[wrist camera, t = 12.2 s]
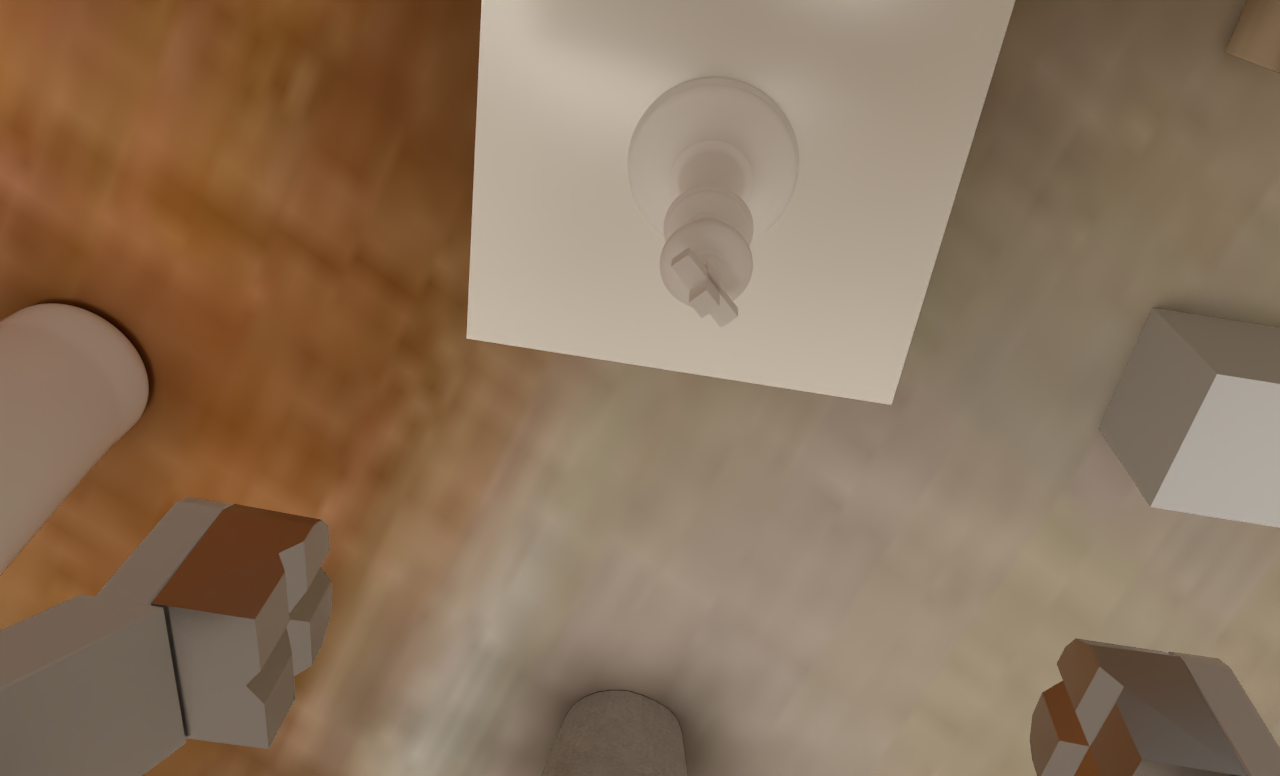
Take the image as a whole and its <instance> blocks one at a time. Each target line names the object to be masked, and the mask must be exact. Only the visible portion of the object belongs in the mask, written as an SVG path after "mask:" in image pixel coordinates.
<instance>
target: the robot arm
mask: <svg viewBox="0 0 1280 776" xmlns="http://www.w3.org/2000/svg"><path fill="white" fill-rule="evenodd" d="M329 551H330V541H329V530H328V525H327V524H326V523H325V522H324V521H323V520H320V519H315V518H309V517H304V516H298V515H293V514H287V513H281V512H276V511H270V510H265V509H259V508H254V507H248V506H243V505H237V504H233V505H231V504H227V503H221V502H216V501H210V500H205V499H199V498H194V497H187V498H185V499H182V500H180V501H178V502H176V503H175V504H174V505H173V506H172V507H171V509H170V510H169V511H168V512H167V513H166V514H165V516H164V517H163V518H162V519H161V520H160V521H159V523H158V524H157V525H156V526H155V527H154V528H153V530H152V531H151V532H150V533H149V534H148V535H147V537H146V538H145V539H144V540H143V541H142V542H141V544H140V545H139V546H138V547H137V548H136V549H135V551H134V552H133V553H132V554H131V555H130V556H129V558H128V559H127V560H126V561H125V562H124V563H123V565H122V566H121V567H120V568H119V569H118V570H117V572H116V573H115V574H114V575H113V576H112V577H111V579H110V580H109V581H108V582H107V583H106V584H105V585H104V587H103V588H102V589H101V590H100V591H99V592H98V594H97V595H96V596H95V597H94V596H87V595H79V596H76V597H74V598H72V599H70V600H67V601H65V602H63V603H61V604H58V605H56V606H54V607H52V608H50V609H47V610H45V611H43V612H41V613H38V614H36V615H34V616H32V617H29V618H27V619H25V620H23V621H21V622H18V623H16V624H14V625H12V626H9V627H7V628H5V629H3V630H1V631H0V776H142V775H143V774H145V773H146V772H148V771H149V770H150V769H152V768H153V767H154V766H156V765H157V764H158V763H160V762H161V761H162V760H164V759H165V758H166V757H168V756H169V755H171V754H172V753H173V752H175V751H176V750H177V749H179V748H180V747H181V746H183V745H184V744H185V743H186V738H188V739H196V740H204V741H211V742H219V743H227V744H234V745H242V746H250V747H257V748H265V749H269V747H270V745H271V743H272V742H273V740H274V738H275V736H276V734H277V732H278V730H279V728H280V726H281V724H282V722H283V720H284V719H285V717H286V715H287V713H288V711H289V709H290V707H291V705H292V703H293V701H294V699H295V687H294V676H295V675H297V674H299V673H300V672H302V671H303V670H305V669H307V668H308V667H310V666H312V664H313V662H314V660H315V658H316V656H317V654H318V652H319V650H320V648H321V646H322V643H323V640H324V637H325V633H326V630H327V626H328V623H329V620H330V613H331V605H332V580H331V579H330V578H329V577H328V575H327V574H326V573H325V572H324V571H323V569H322V568H321V565H322V563H323V561H324V560H325V558H326V556H327V554H328V552H329ZM1057 666H1058V668H1059V671H1060V674H1061V676H1062V679H1063V681H1062V682H1060V683H1058V684H1056V685H1055V686H1053V687H1051V688H1050V689H1048V690H1046V691H1044V692H1043V693H1042V694H1041V697H1040V699H1039V701H1038V703H1037V706H1036V708H1035V710H1034V713H1033V715H1032V724H1031V733H1030V745H1031V754H1032V760H1033V764H1034V767H1035V770H1036V773H1037V776H1280V748H1279V746H1278V744H1277V743H1276V741H1275V740H1274V738H1273V736H1272V735H1271V733H1270V731H1269V730H1268V728H1267V727H1266V725H1265V723H1264V722H1263V720H1262V718H1261V717H1260V715H1259V714H1258V712H1257V710H1256V709H1255V707H1254V705H1253V704H1252V702H1251V701H1250V699H1249V697H1248V696H1247V694H1246V692H1245V691H1244V689H1243V688H1242V686H1241V684H1240V683H1239V681H1238V679H1237V678H1236V676H1235V675H1234V673H1233V671H1232V670H1231V668H1230V667H1229V666H1227V665H1226V664H1225V663H1223V662H1222V661H1221V660H1219V659H1218V658H1211V657H1204V656H1197V655H1189V654H1182V653H1175V652H1169V653H1166V652H1162V651H1156V650H1149V649H1142V648H1136V647H1129V646H1122V645H1116V644H1109V643H1102V642H1096V641H1089V640H1082V639H1075V640H1073V641H1072V642H1071V643H1070V644H1069V645H1067V646H1066V647H1065V649H1064V651H1063V653H1062V655H1061V657H1060V658H1059V660H1058V662H1057Z"/></svg>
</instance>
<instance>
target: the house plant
mask: <svg viewBox="0 0 1280 776" xmlns="http://www.w3.org/2000/svg"><path fill="white" fill-rule="evenodd" d="M541 776H688V773H687V766H686V759H685V752H684V745H683V737H682V730H681V728H680V725H679V723H678V720H677V719H676V717H675V716H674V715H673V714H672V712H671V711H670V710H669V709H668V708H666V707H664V706H663V705H661V704H659V703H658V702H656V701H654V700H651V699H649V698H647V697H645V696H642V695H639V694H636V693H632V692H629V691H614V690H611V691H604V692H598V693H595V694H592V695H590V696H587V697H585V698H582V699H581V700H580V701H578V702H577V703H576V704H574V705H573V706H572V707H571V709H570V710H569V712H568V713H567V714H566V716H565V719H564V721H563V724H562V726H561V729H560V731H559V734H558V736H557V738H556V741H555V743H554V746H553V748H552V751H551V753H550V756H549V758H548V761H547V763H546V766H545V768H544V770H543V773H542V775H541Z"/></svg>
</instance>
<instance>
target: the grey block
mask: <svg viewBox="0 0 1280 776" xmlns="http://www.w3.org/2000/svg"><path fill="white" fill-rule="evenodd" d="M1099 430H1100V431H1101V433H1102V435H1103V436H1104V438H1105V439H1106V441H1107V442H1108V444H1109V445H1110V447H1111V448H1112V450H1113V451H1114V453H1115V454H1116V456H1117V457H1118V459H1119V460H1120V462H1121V463H1122V465H1123V466H1124V468H1125V469H1126V471H1127V472H1128V474H1129V475H1130V477H1131V478H1132V480H1133V481H1134V483H1135V484H1136V486H1137V487H1138V489H1139V490H1140V492H1141V494H1142V495H1143V497H1144V498H1145V500H1146V501H1147V503H1148V504H1149V506H1150V507H1154V508H1160V509H1166V510H1173V511H1179V512H1185V513H1191V514H1198V515H1204V516H1210V517H1216V518H1222V519H1229V520H1235V521H1241V522H1247V523H1254V524H1260V525H1266V526H1272V527H1279V528H1280V328H1278V327H1272V326H1266V325H1259V324H1253V323H1247V322H1240V321H1234V320H1228V319H1222V318H1215V317H1209V316H1203V315H1197V314H1190V313H1184V312H1178V311H1172V310H1165V309H1159V308H1152V310H1151V313H1150V315H1149V317H1148V319H1147V322H1146V324H1145V326H1144V328H1143V330H1142V333H1141V335H1140V337H1139V339H1138V342H1137V344H1136V346H1135V348H1134V351H1133V353H1132V355H1131V357H1130V360H1129V362H1128V364H1127V366H1126V369H1125V371H1124V373H1123V375H1122V378H1121V380H1120V382H1119V384H1118V387H1117V389H1116V391H1115V393H1114V395H1113V398H1112V400H1111V402H1110V404H1109V407H1108V409H1107V411H1106V413H1105V416H1104V418H1103V420H1102V422H1101V425H1100V427H1099Z"/></svg>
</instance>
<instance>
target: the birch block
mask: <svg viewBox="0 0 1280 776" xmlns="http://www.w3.org/2000/svg"><path fill="white" fill-rule="evenodd" d="M1225 53H1228V54H1230V55H1233V56H1236V57H1238V58H1241V59H1243V60H1246V61H1249V62H1251V63H1254V64H1257V65H1259V66H1262V67H1265V68H1267V69H1270V70H1273V71H1275V72H1278V73H1280V0H1247V2H1246V4H1245V7H1244V9H1243V11H1242V14H1241V16H1240V18H1239V21H1238V23H1237V25H1236V27H1235V30H1234V32H1233V34H1232V37H1231V39H1230V41H1229V44H1228V46H1227V48H1226V51H1225Z"/></svg>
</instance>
